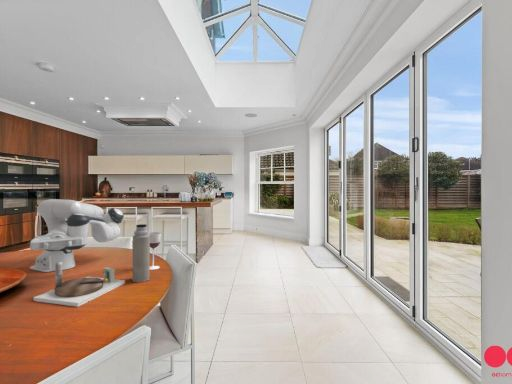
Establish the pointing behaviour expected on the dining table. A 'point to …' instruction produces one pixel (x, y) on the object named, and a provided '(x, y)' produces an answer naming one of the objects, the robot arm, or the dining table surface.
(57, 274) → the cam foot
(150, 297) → the dining table surface
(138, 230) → the thermos bottle
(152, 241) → the wineglass
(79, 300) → the stand
